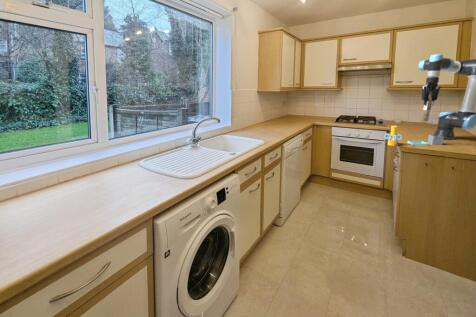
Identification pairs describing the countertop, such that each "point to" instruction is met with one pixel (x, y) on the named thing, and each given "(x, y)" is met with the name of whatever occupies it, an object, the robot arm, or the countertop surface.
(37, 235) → the countertop surface
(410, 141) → the tray
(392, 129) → the yellow and blue toy
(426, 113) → the dowel
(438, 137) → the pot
